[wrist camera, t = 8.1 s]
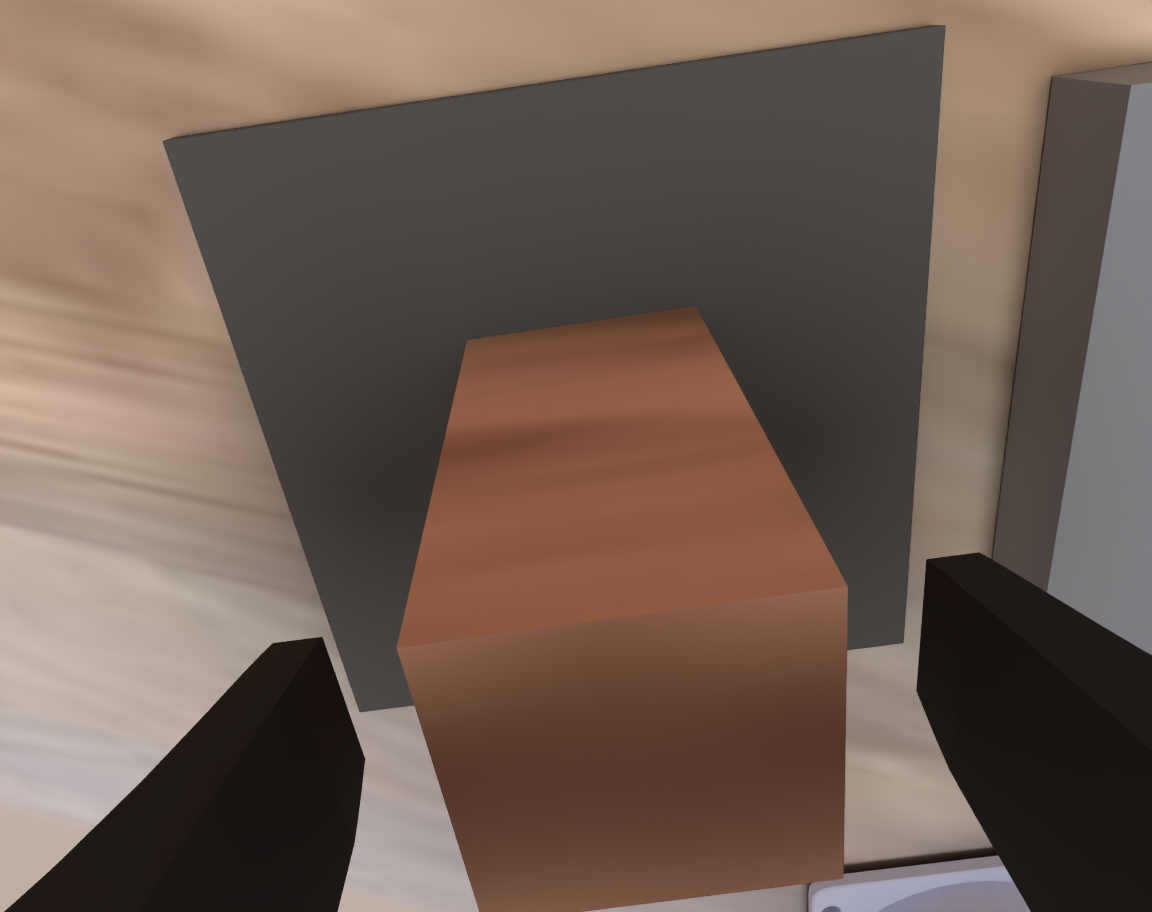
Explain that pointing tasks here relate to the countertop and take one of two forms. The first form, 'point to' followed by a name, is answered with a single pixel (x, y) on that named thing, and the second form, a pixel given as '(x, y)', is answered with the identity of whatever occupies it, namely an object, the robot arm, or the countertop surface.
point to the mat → (582, 286)
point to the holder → (1087, 361)
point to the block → (625, 628)
